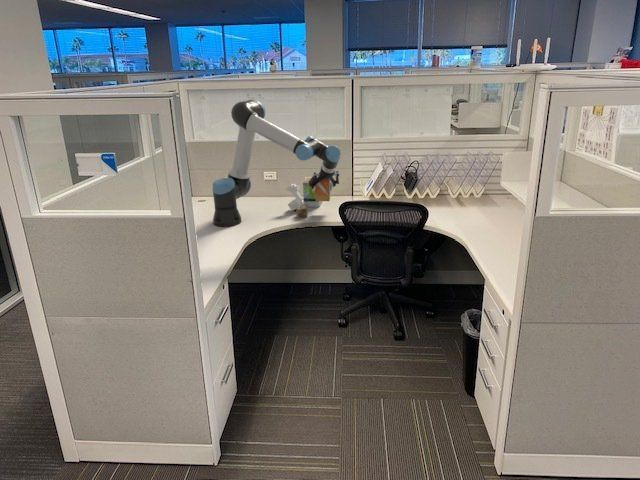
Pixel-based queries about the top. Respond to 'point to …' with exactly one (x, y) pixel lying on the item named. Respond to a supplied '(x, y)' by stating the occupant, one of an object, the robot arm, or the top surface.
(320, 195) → the small box
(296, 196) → the voxel character
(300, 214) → the walnut block
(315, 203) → the tea box
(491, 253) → the top surface
